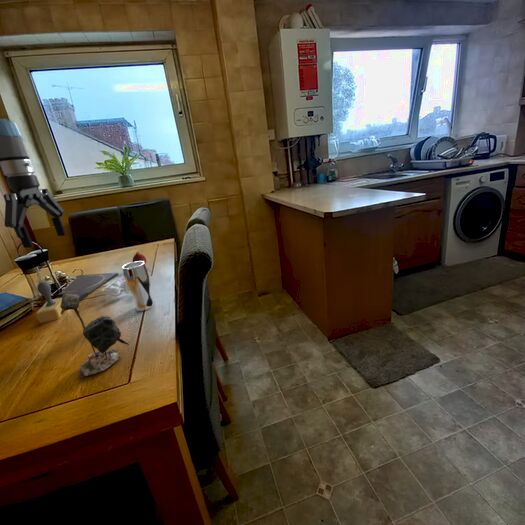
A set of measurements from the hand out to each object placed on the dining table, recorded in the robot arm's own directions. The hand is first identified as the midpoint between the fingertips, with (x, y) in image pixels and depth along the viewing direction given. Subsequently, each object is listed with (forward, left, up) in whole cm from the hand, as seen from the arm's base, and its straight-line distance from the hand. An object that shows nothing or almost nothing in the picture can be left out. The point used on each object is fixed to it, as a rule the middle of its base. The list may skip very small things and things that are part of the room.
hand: (46, 241), depth 93 cm
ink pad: (-1, +3, -24) cm, 24 cm away
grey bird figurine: (+36, -32, -24) cm, 54 cm away
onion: (+10, +33, -24) cm, 42 cm away
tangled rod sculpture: (+15, +11, -24) cm, 30 cm away
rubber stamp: (0, -7, -24) cm, 25 cm away
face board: (-8, +17, -24) cm, 30 cm away
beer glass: (+32, -5, -24) cm, 40 cm away
